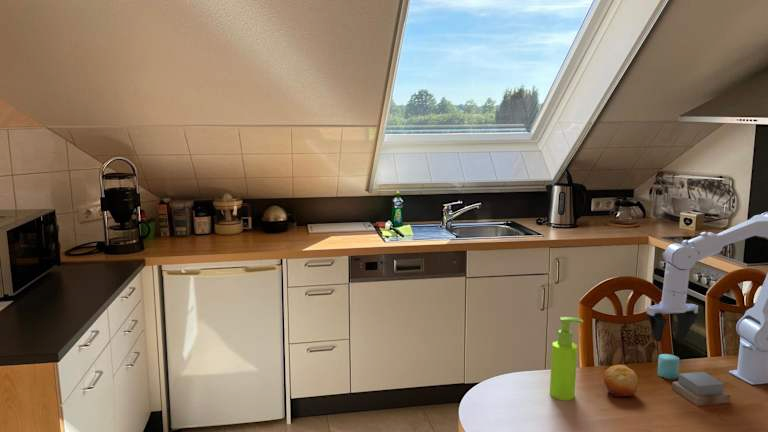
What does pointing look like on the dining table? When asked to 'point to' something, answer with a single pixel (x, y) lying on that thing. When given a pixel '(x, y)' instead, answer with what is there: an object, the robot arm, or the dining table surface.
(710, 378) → the grey square block
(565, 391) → the soap dispenser
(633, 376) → the tan round lump
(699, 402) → the beige square slab
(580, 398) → the dining table surface
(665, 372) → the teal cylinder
